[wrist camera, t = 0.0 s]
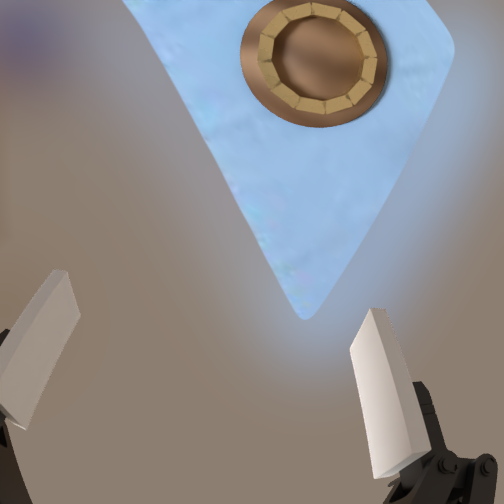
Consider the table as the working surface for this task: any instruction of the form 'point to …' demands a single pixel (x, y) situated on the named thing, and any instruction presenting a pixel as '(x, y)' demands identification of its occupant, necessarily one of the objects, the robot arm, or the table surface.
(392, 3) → the table surface
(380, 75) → the ring tray
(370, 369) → the robot arm
